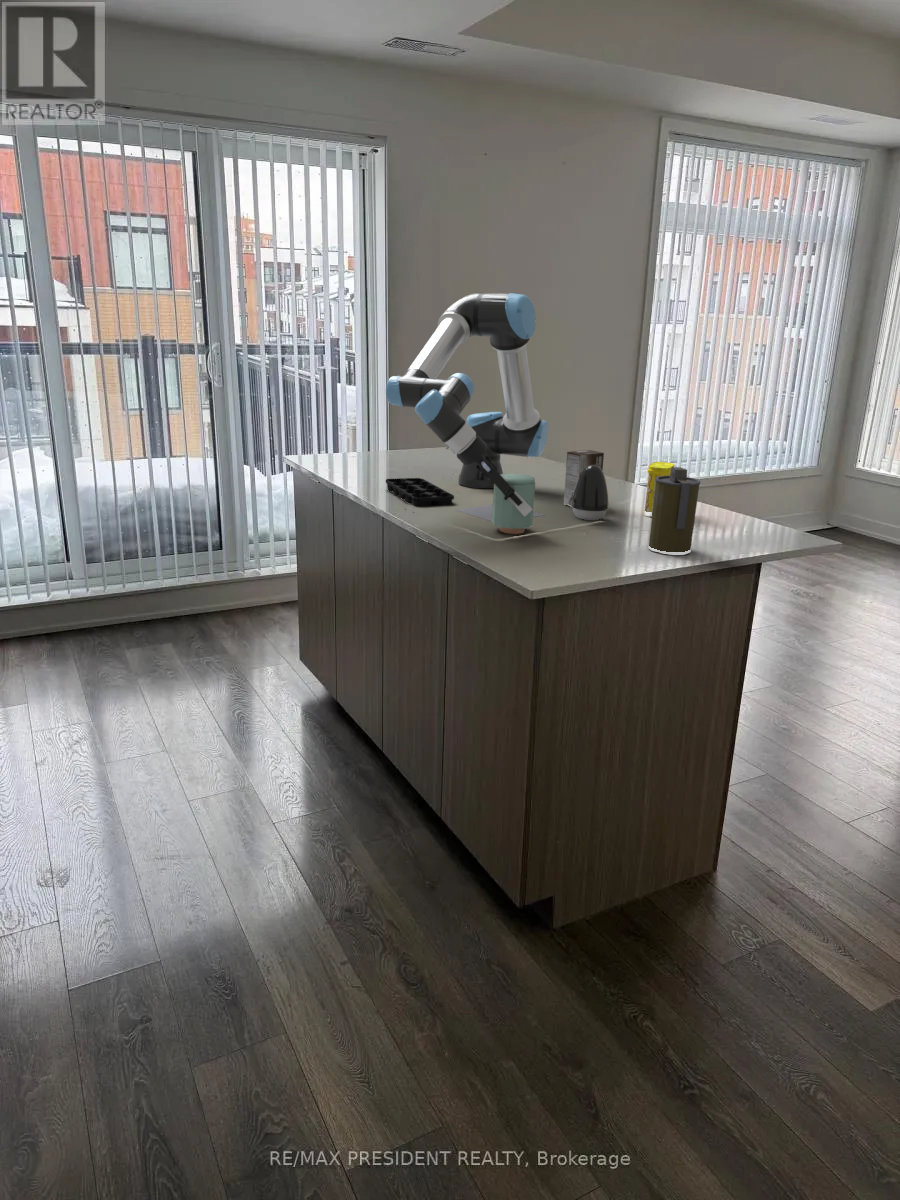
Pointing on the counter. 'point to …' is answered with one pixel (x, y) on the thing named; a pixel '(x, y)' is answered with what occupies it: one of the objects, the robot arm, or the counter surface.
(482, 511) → the mat
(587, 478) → the black egg-shaped device
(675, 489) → the canister
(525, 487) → the faceted lidded jar
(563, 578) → the counter surface
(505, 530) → the pink rounded puck
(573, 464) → the coffee box
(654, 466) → the canister
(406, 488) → the egg carton
